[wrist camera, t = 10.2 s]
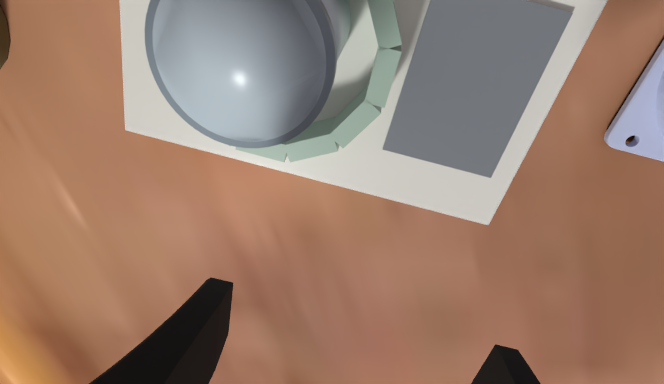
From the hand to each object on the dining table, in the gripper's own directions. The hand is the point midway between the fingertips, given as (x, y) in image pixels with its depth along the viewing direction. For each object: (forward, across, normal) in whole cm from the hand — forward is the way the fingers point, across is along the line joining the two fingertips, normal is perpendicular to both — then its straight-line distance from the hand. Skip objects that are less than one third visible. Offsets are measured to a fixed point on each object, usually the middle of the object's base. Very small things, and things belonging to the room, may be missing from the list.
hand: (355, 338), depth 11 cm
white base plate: (+10, +3, -5) cm, 12 cm away
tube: (+9, +4, -6) cm, 12 cm away
